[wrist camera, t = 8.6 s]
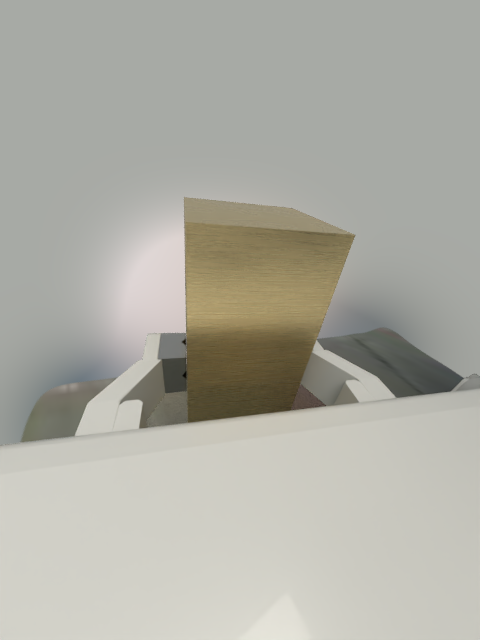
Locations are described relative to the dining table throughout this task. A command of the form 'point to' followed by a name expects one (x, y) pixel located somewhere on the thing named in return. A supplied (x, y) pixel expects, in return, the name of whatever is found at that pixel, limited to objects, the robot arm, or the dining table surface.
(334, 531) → the robot arm
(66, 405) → the dining table surface
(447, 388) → the dining table surface
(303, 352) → the peg
